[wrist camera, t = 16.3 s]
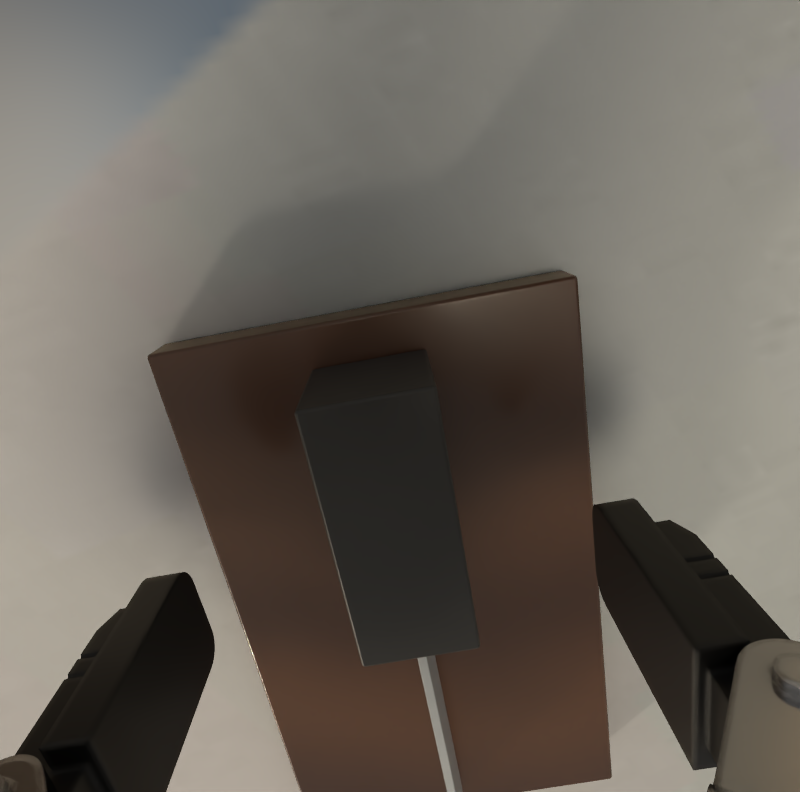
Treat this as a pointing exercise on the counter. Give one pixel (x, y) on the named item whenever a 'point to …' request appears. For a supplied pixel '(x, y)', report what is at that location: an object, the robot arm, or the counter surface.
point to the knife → (392, 518)
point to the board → (480, 526)
